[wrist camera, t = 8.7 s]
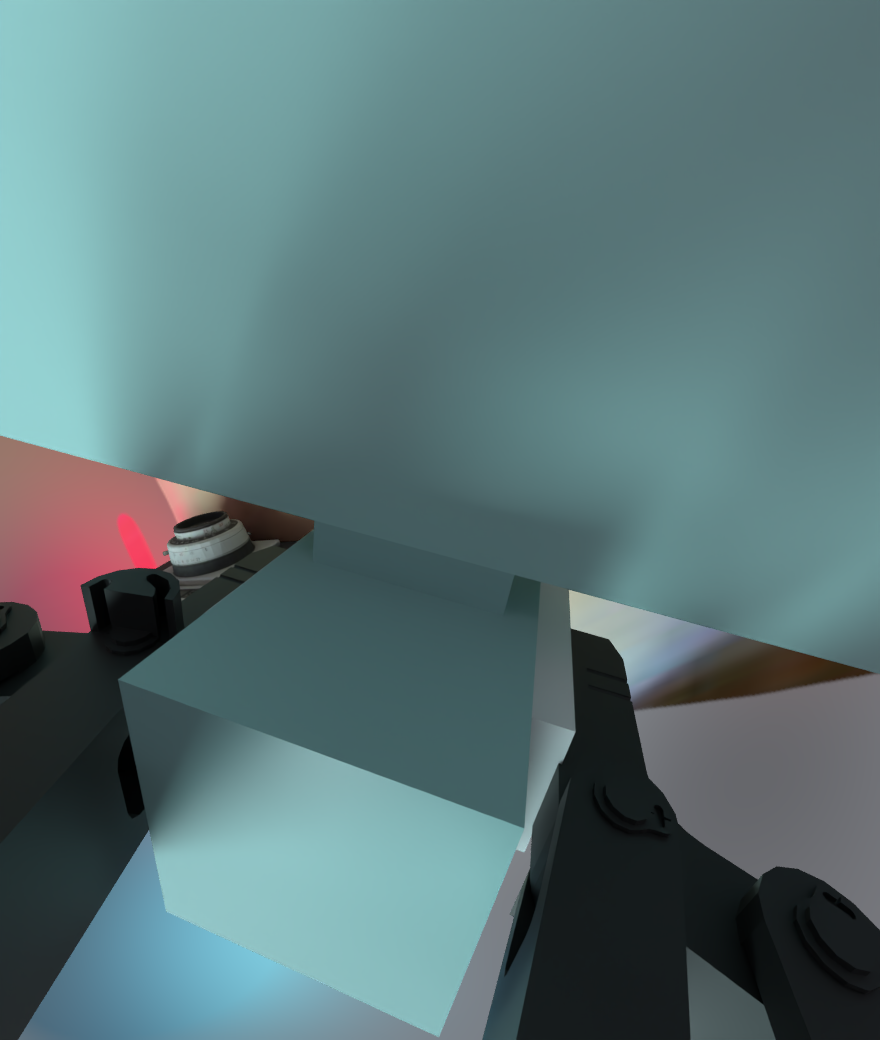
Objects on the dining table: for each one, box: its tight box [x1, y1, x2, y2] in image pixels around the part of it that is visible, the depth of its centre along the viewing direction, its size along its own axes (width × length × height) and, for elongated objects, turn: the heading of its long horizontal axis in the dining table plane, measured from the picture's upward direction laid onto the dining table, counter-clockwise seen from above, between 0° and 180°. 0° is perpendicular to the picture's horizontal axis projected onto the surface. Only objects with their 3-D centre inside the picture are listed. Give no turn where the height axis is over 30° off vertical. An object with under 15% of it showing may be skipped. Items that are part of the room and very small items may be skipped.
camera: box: [156, 511, 298, 601], centre depth 32 cm, size 14×8×10 cm, turn 100°
